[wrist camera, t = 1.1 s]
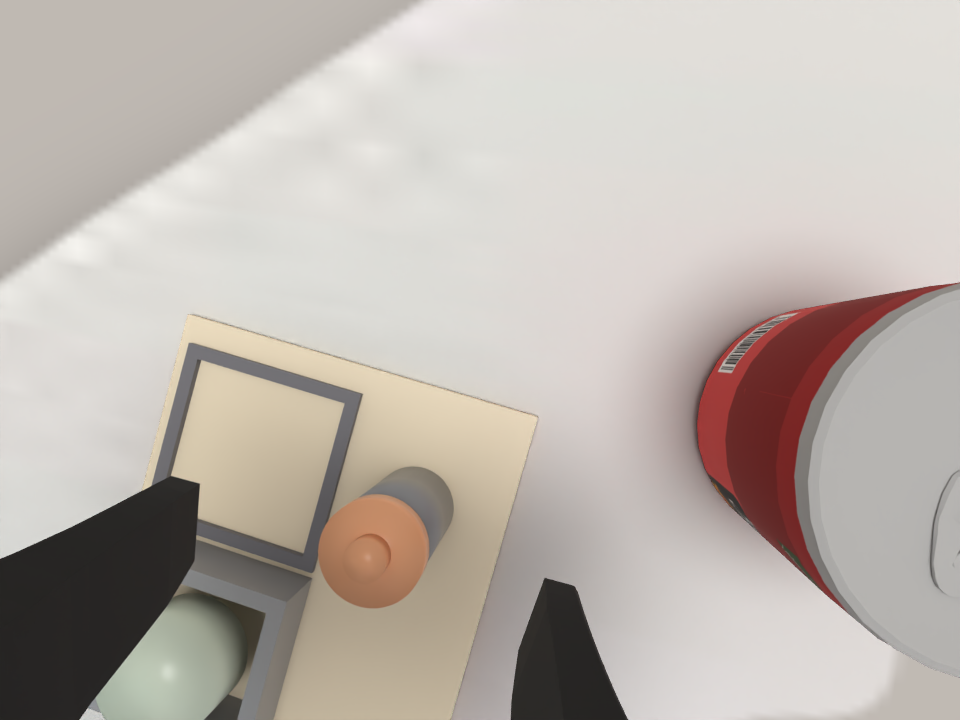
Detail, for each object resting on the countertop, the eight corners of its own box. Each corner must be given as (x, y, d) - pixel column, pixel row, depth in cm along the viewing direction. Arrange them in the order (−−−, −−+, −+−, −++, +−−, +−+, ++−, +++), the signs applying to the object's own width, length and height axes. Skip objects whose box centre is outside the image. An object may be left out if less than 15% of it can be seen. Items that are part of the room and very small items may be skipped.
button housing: (271, 726, 25) (242, 765, 23) (130, 675, 26) (88, 707, 24) (312, 578, 25) (287, 602, 23) (169, 530, 26) (130, 548, 23)
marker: (441, 558, 25) (401, 633, 18) (363, 533, 25) (296, 597, 18) (464, 479, 24) (432, 525, 18) (385, 454, 25) (326, 491, 18)
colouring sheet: (432, 781, 25) (429, 794, 24) (102, 662, 27) (90, 671, 26) (538, 416, 24) (537, 418, 24) (193, 315, 26) (183, 313, 25)
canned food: (677, 516, 24) (780, 655, 13) (707, 296, 24) (836, 251, 13) (900, 549, 23) (1211, 728, 12) (933, 321, 23) (1280, 296, 12)
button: (231, 719, 24) (191, 764, 21) (130, 682, 24) (79, 722, 21) (260, 613, 23) (223, 646, 21) (158, 578, 24) (110, 606, 21)
